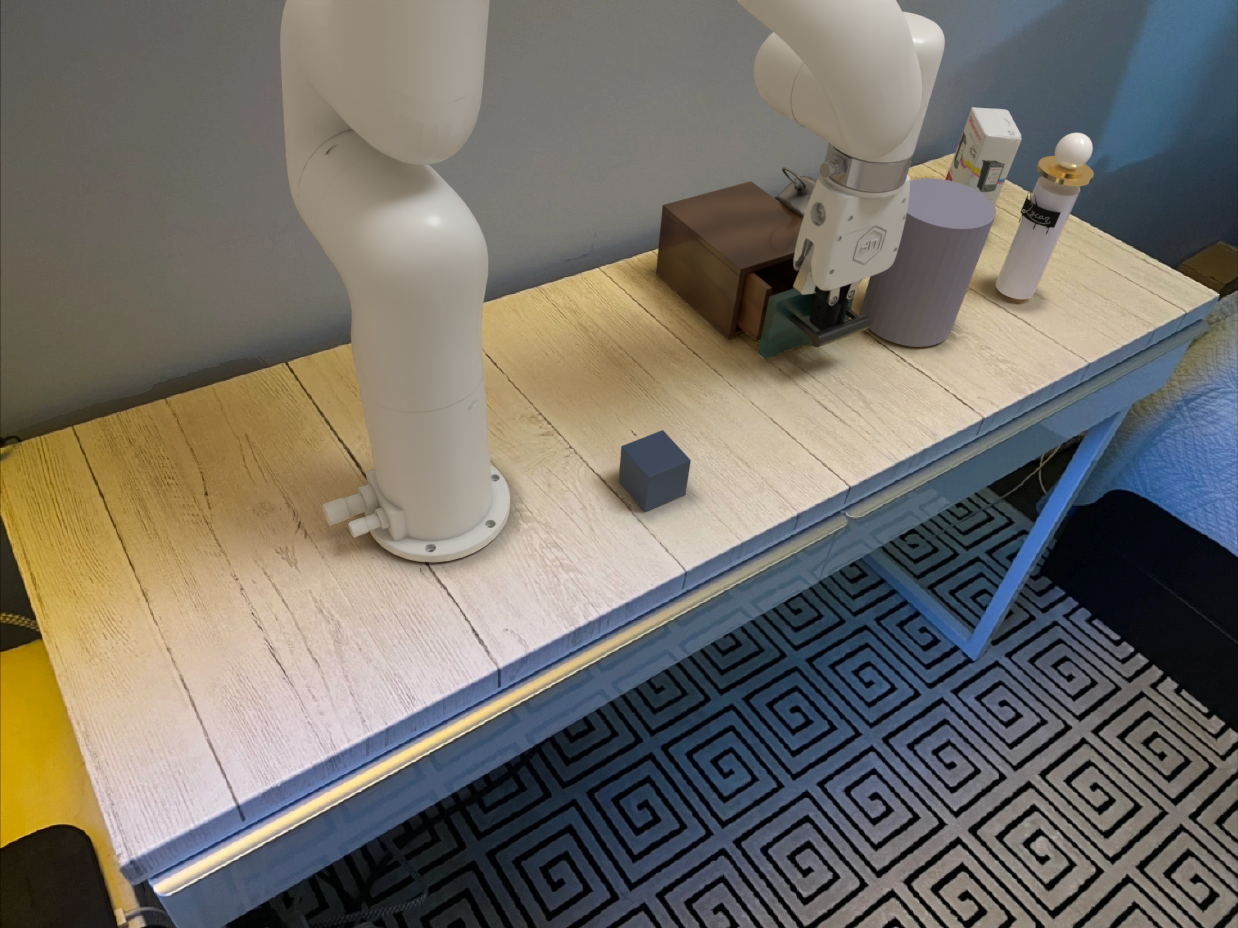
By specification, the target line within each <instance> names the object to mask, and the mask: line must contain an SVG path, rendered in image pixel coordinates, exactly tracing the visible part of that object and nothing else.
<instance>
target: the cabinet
mask: <svg viewBox="0 0 1238 928" xmlns="http://www.w3.org/2000/svg"><path fill="white" fill-rule="evenodd" d="M661 206H662V207H661V217H660V218H661V219H660V229H659V239H658V250H657V257H656V258H657V260H656V268H655V274H656V276H657V277H659V278H660V279H661V280H662V281H663V282H664V283H665V284H666V285H667V286H669V287H670V288H671V289H672V291H674V292H675V293H676V294H677V295H679V296H680V298H681V299H683V300H684V301H685V302H686V303H687V304H688V305H690V306H691V308H692V309H694V310H695V311H696V312H697V313H698V314H699V315H700V316H702V318H704V319H705V320H706V321H707V322H708V323H709V324H710V325H711V326H712V327H714V328H715V330H716V331H718V332H719V333H720V334H721V335H723V337H724V338H726V339H727V340H728V341H731V340H732V339H735V338H738V337H741V336H744V335H747V334H746V333H745V332H744V331H743V330H742V329H740V328H739V327H738V326H737V325H736V323H737V318H738V312H739V306H740V301H741V295H742V289H743V284H744V278H745V274H746V273H750V272H753V271H756V270H759V269H762V268H765V267H768V266H771V265H774V264H777V263H781V262H784V261H787V260H790V259H793V258H794V253H795V248H796V243H797V239H798V235H799V231H800V228H801V224H802V221H803V218H801V217H800V216H799V215H797V214H796V213H794V212H793V211H792V210H790V209H789V208H787V207H786V206H785V205H783V204H782V203H781V202H779V201H778V200H776V199H775V196H774V197H773V195H771V194H769V192H767V191H765V190H764V189H762V188H761V187H760V186H759V185H757V184H756V183H754V182H753V181H752V180H750V181H746V182H742V183H739V184H734V185H731V186H728V187H724V188H720V189H717V190H712V191H709V192H706V193H702V194H699V195H695V196H690V197H687V198H684V199H680V200H676V201H672V202H667V203H664V204H662V205H661Z"/></svg>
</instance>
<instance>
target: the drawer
mask: <svg viewBox="0 0 1238 928" xmlns="http://www.w3.org/2000/svg"><path fill="white" fill-rule="evenodd" d="M793 263H794V258H793V259H790V260H787V261H784V262H781V263H777V264H774V265H771V266H768V267H765V268H762V269H759V270H756V271H753V272H750V273H746V274H745V278H744V284H743V289H742V295H741V301H740V306H739V312H738V318H737V323H736V325H737V326H738V327H739V328H740V329H742V330H743V331H744V332H745V333H746V334H745V335H747V337H749V338H751V340H753V341H754V342H755V343H758V342H759V346H758V351H757V354H758V355H759V356H760V357H761V358H762V359H763V360H767V359H770V358H773V357H775V356H777V355H780V354H783V353H786V352H789V351H791V350H793V349H797V348H799V347H801V346H804V345H808V344H811V345H812V347H814V348H815V349H818V348H820V347H823V346H826V345H829V344H831V343H834V342H837V341H840V340H842V339H845V338H847V337H851V336H853V335H855V334H858V333H861V332H863V331H865V330H868V329H869V328H870V326H871V320H870V318H869V317H868V316H867V315H862V316H861V314H858V313H857V312H856V311H855V310H853V309H852V307H853V302H854V299H855V296H854V297H853V298H851V299H848V301H849V303H848V307H847V311H846V314H845V318H844V321H843V323H840V324H838V325H835V326H832V327H830V328H827V329H824V330H821V331H820V330H819V329H818V328H816V327H815V326H814V325H813V324H811V323H810V320H809V319H810V314H811V310H812V306H813V302H814V298H815V293H813V294H806V295H802V294H800V293H799V292H798V291H797V290H795V289H794V288H793V285H794V282H795V280H796V277H797V275H798V273H799V271H797V270H795V269H794V265H793Z"/></svg>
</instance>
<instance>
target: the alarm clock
mask: <svg viewBox="0 0 1238 928" xmlns="http://www.w3.org/2000/svg"><path fill="white" fill-rule="evenodd" d="M781 172H782V173H783V174H784V175H785V177H786V178H787V179H788V180H789V181H790V183H789V184H788V185H787V186H786V187H784V189H782V190H781V191H780V193H778V194H777V195H776V196H774V198H775V199H776V200H778V201H779V202H781V203H782V204H783V205H785V206H786V207H787V208H789V209H790V210H792V211H793V212H794V213H796V214H797V215H799V216H800V217H801V218H804V214H805V211H806V208H807V205H808V203H809V200H810V197H811V195H812V192H813V189H814V187H815V185H816V182H817V180H818V179H816V178H814V177H811V176H808V175H799V174H798V173H796V172H795V171H794V170H792V169H790V168H789V167H786V166H783V167H782V168H781ZM787 172H789V173H790V174H791V175H793V176H794V177H795V178H792V177H791V176H790V174H789V173H787Z"/></svg>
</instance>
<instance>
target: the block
mask: <svg viewBox="0 0 1238 928" xmlns="http://www.w3.org/2000/svg"><path fill="white" fill-rule="evenodd" d="M619 458H620V459H619V460H620V461H619V471H618V482H619V483H620V485H622V487H623V488H624V489H625V490H626V492H627V493H628V494H629V496H631V498H632V499H633V500H634V501H635V503H636V504H637V505H638V507H640V508H641V510H642V511H643V512H644V513H647V512H648V511H651V510H654V509H656V508H658V507H660V506H663V505H665V504H667V503H670V502H672V501H674V500H677V499H679V498H681V497H683V496H686V494H687V488H688V481H689V474H690V468H691V461H692V460H691V458H690V457H688V455H687V454H686V453H685V452H684V451H683V449H681V447H679V446H678V444H676V442H675V441H674V440H673V439H672V438H671V437H670V436H669V435H668V433H666V431H664V430H663V429H662V430H659V431H656V432H654V433H651V434H649V435H646V436H643V437H641V438H638V439H636V440H633V441H631V442H628V443H625V444H622V445H621V446H620V457H619Z"/></svg>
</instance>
